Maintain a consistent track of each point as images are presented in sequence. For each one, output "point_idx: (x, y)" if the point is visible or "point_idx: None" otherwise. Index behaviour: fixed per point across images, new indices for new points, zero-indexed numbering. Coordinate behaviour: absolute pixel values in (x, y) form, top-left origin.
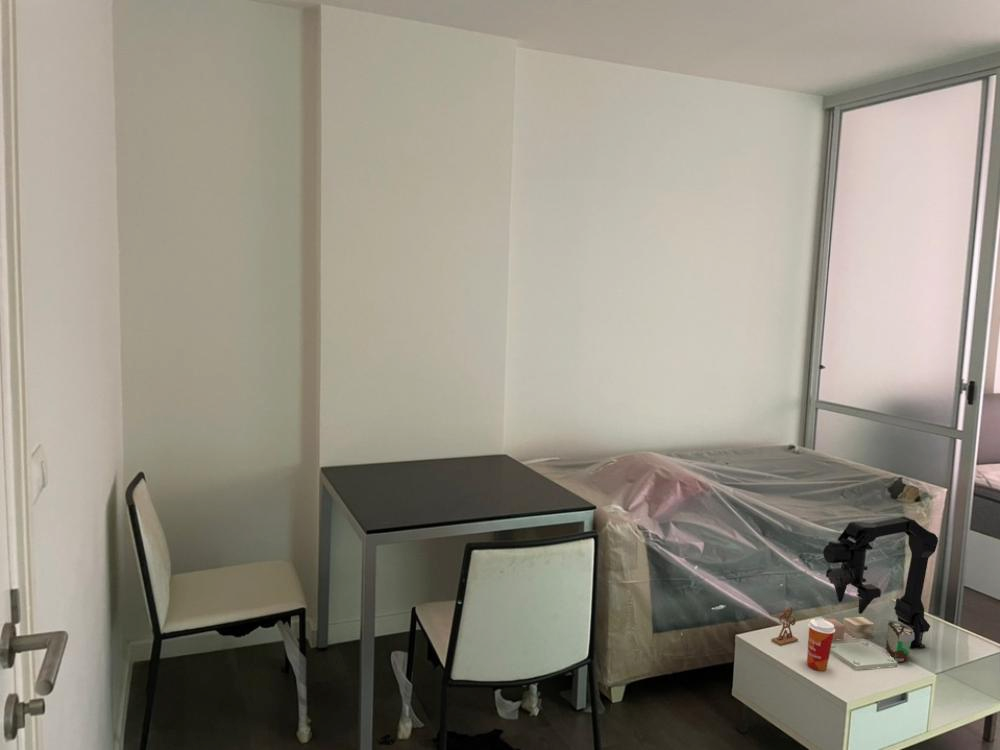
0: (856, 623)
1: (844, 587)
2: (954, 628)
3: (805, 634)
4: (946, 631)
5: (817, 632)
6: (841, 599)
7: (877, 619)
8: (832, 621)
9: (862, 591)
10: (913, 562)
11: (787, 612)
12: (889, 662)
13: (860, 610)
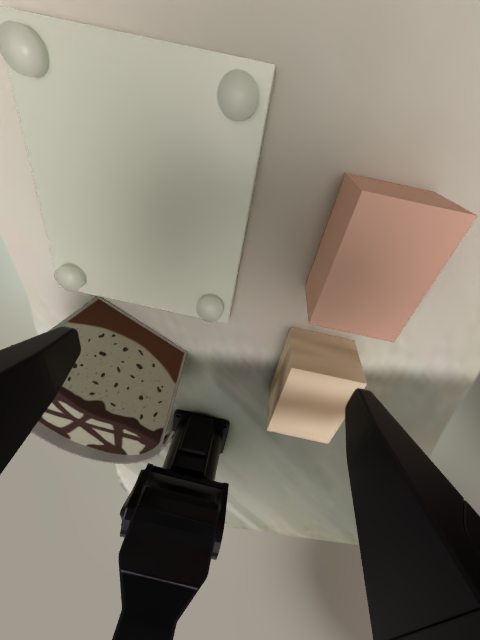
0: (300, 385)
1: (386, 621)
2: (231, 526)
3: (462, 132)
4: (226, 513)
5: None
6: (351, 426)
7: (339, 476)
8: (380, 309)
9: None
10: None
11: None
12: (55, 254)
13: (23, 346)
